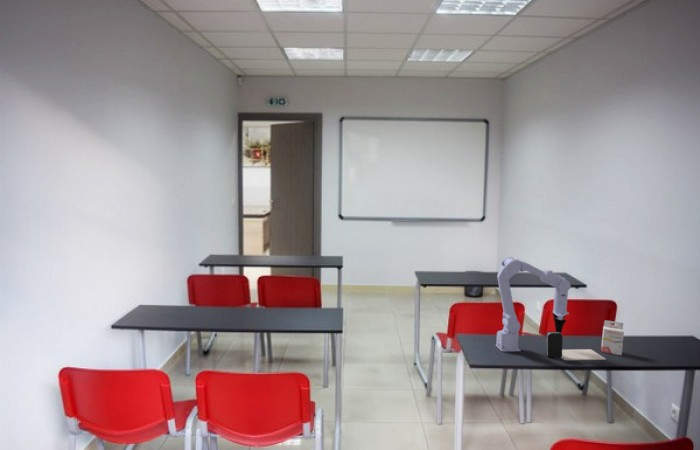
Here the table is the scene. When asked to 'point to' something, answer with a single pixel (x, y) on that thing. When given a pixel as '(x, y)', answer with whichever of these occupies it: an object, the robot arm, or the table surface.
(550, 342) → the battery charger
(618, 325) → the ink cartridge box
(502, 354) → the table surface
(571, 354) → the mat
